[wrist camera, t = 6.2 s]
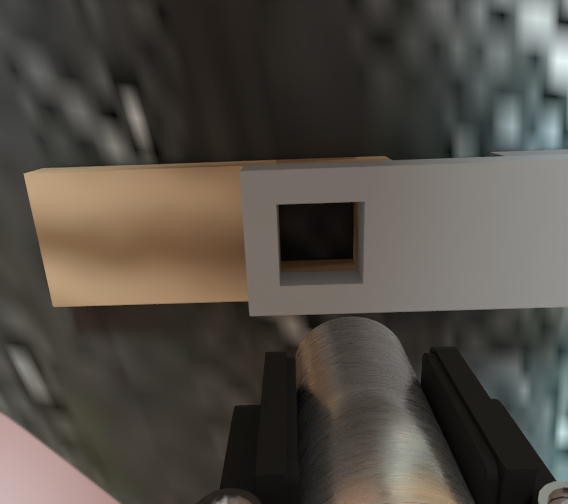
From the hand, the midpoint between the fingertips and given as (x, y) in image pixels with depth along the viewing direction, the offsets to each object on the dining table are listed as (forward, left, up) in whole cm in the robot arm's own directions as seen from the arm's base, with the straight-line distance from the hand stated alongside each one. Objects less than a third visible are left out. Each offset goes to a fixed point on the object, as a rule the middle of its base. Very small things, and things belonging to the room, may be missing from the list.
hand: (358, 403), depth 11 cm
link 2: (0, +6, -17) cm, 18 cm away
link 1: (0, -6, -17) cm, 18 cm away
